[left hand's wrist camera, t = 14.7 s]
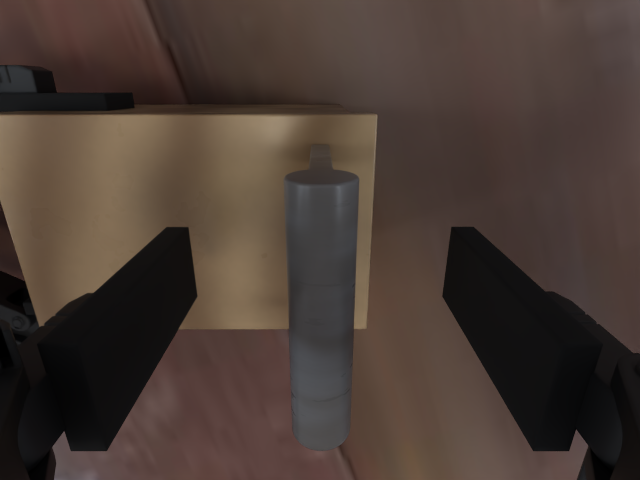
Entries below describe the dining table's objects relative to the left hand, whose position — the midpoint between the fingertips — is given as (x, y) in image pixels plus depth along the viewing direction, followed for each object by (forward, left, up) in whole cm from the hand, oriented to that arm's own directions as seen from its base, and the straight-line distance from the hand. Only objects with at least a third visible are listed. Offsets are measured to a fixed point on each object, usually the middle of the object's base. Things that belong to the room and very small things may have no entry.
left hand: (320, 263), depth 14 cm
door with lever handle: (+6, 0, -4) cm, 7 cm away
